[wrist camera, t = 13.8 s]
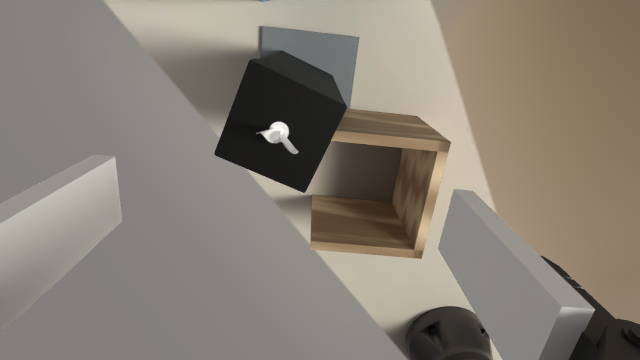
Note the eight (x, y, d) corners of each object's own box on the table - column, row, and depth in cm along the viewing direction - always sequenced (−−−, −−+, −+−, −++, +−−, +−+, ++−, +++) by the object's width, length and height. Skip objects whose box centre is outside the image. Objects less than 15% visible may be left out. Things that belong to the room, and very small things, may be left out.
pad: (346, 130, 53) (346, 131, 52) (259, 121, 52) (258, 122, 52) (358, 37, 48) (359, 37, 48) (263, 26, 48) (262, 26, 47)
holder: (397, 209, 58) (421, 258, 45) (311, 201, 57) (310, 249, 44) (417, 116, 52) (450, 142, 39) (321, 106, 52) (323, 129, 39)
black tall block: (309, 124, 52) (303, 211, 26) (259, 101, 51) (200, 169, 25) (333, 74, 49) (352, 115, 23) (281, 49, 48) (240, 62, 22)
